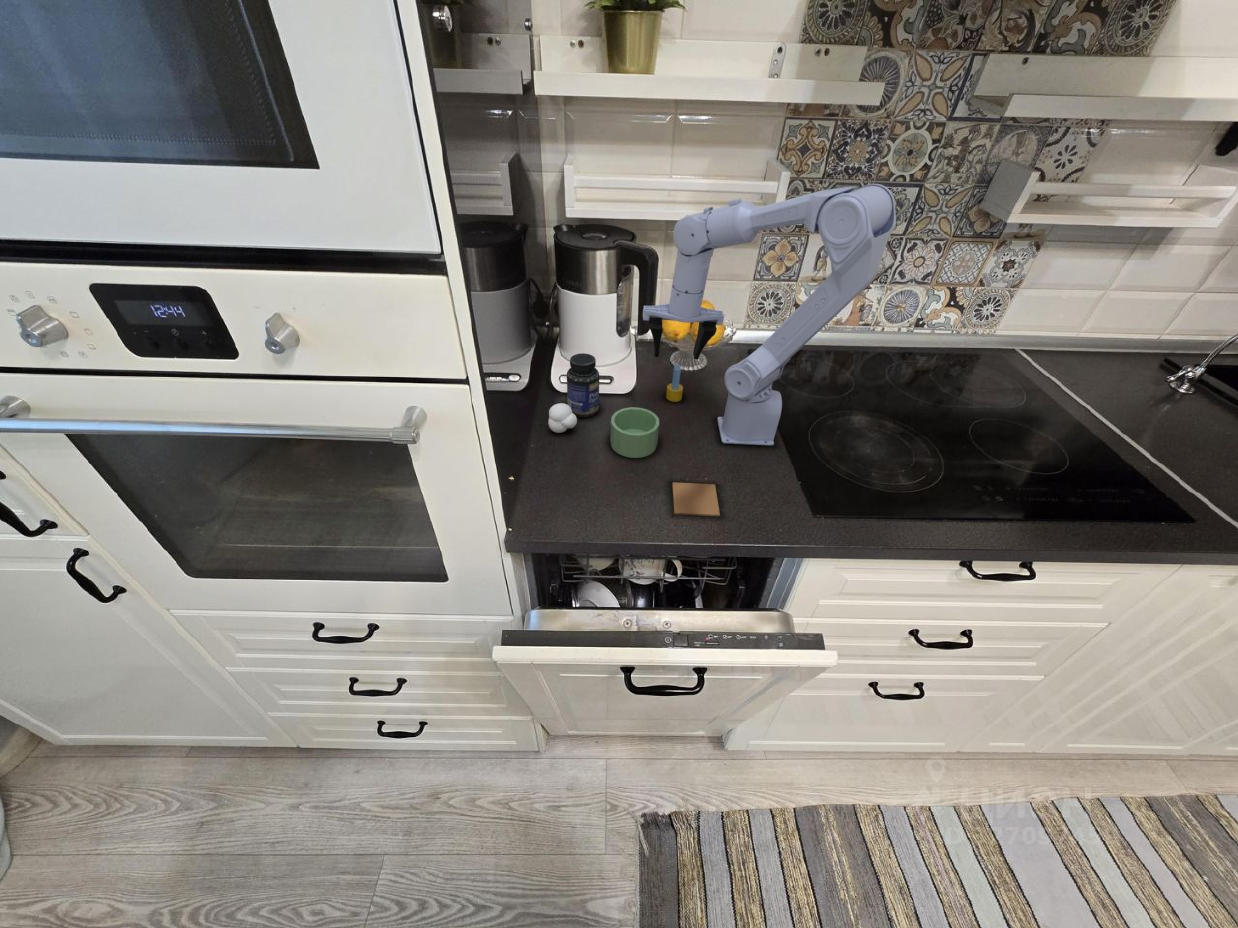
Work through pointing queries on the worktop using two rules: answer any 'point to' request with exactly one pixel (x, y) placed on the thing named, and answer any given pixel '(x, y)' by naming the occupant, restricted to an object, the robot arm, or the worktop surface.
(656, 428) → the green round open container
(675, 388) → the brush
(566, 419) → the microfossil shell
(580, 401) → the pill bottle
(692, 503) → the mat
